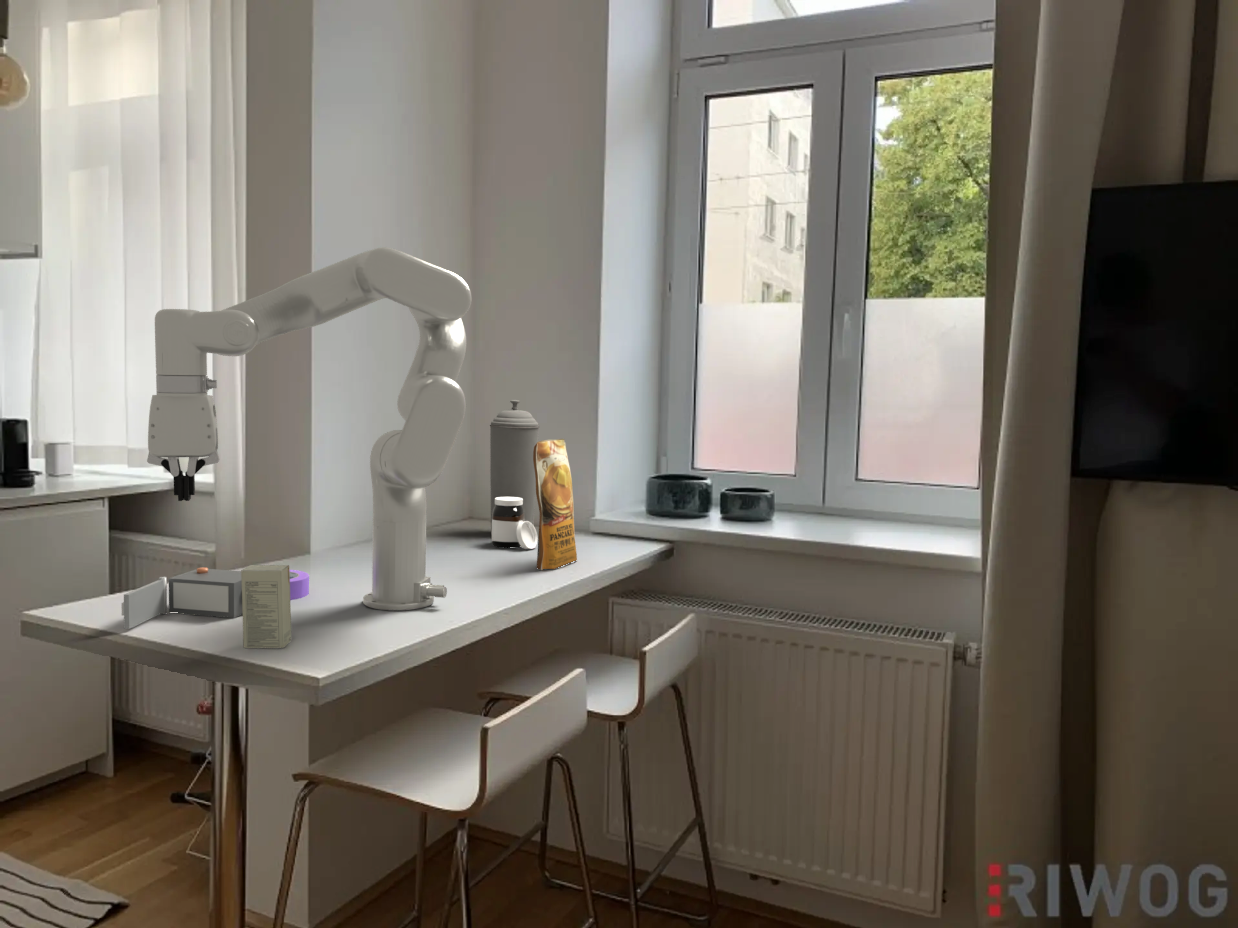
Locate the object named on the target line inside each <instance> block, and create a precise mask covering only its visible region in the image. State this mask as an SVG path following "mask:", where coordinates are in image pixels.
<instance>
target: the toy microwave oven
mask: <svg viewBox="0 0 1238 928" xmlns="http://www.w3.org/2000/svg"><path fill="white" fill-rule="evenodd" d="M169 612H178V613H184V614H183V615H188V614H195V615H194V616H200V617H202V616H203V617H213V616H216V617H215V618H229V619H236V618H238V617H240V616H243V612H242V580H241V570H230V569H228V570H227V569H217V568H216V569H215V568H209V567H203V566H202V567H197V568H196V569H192V570H189V571H187V572H184V573H180V574H177V575H174V576H170V577H169V578H168V613H169Z"/></svg>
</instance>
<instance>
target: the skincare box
mask: <svg viewBox="0 0 1238 928" xmlns="http://www.w3.org/2000/svg"><path fill="white" fill-rule="evenodd" d="M290 570H291V569H290V565H289V564H250V565H248V566H246V567H244V568H242V569H240V571H241V580H242V612H243V614H242V636H243V637H242V638H243V639H242V641H243V642H242V643H243V649H284V648H285V647H286V646H287V645H289V643H291V642H292V617H291V616H292V614H291V610H292V609H291V600H290Z"/></svg>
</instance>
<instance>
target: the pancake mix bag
mask: <svg viewBox="0 0 1238 928" xmlns="http://www.w3.org/2000/svg"><path fill="white" fill-rule="evenodd" d="M568 455H569V454H568V451H567V442H565V438H557V439H544V440H538V442H537V443H536V445H535V446H534V451H533V462H534V469H535V478H536V490H535V497H536V500H537V505H538V511H539V519H538V520H539V521H538V522H539V524H538V533H537V537H538V540H537V552H536V553H537V554H536V569H537V568H538V569H537V570H539V569H540V571H544V570H543V569H553V570H556V568H557V569H559V568H558V567H560V568H562V567H561V566H563V565H566V564H568V563H571V562H573V561H576V560H577V561H578V556H577V547H576V546H577V545H576V538H575V537H576V536H575V519H574V518H575V512H574V511H575V510H574V509H575V508H574V507H575V506H574V505H575V504H574V493H573V478H572V472H571V466H570V461H569V456H568ZM577 561H576V562H577ZM568 565H569V564H568ZM566 566H567V565H566Z"/></svg>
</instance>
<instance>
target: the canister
mask: <svg viewBox="0 0 1238 928" xmlns="http://www.w3.org/2000/svg"><path fill="white" fill-rule="evenodd" d="M520 402H521V401H520V400H519V399H518V400H517V399H511V400H509V403H511V404H512V407H511V409H506V410H505V409H504V410H501V411H500V412H499V413H497V415H496V417H494V418H493V420H492V421H491V422H490V424H489V426H490V429H489V430H490V437H489V439H490V441H489V442H490V447H489V449H490V453H489V454H490V459H489V461H490V467H489V468H490V470H489V472H490V481H489V482H490V533H491V534H492V512H493V509H494V507H495V498H497V497H518V498H522V499H523V505H522V507H523V509H524V521H529V522H531V523H532V524H533V525H535V524H534V523H535V521H534V520H535V507H536V506H535V503H536V478H535V469H534V462H533V451H534V446H535V445H536V443H537V442H539V430H540V429H539V428H540V425H539V422H538V421H537V420H536V419H535V418H534V417H533V414H531V412H529V411H527V410H521V409H520V410H519V408H518V404H519V403H520Z"/></svg>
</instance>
